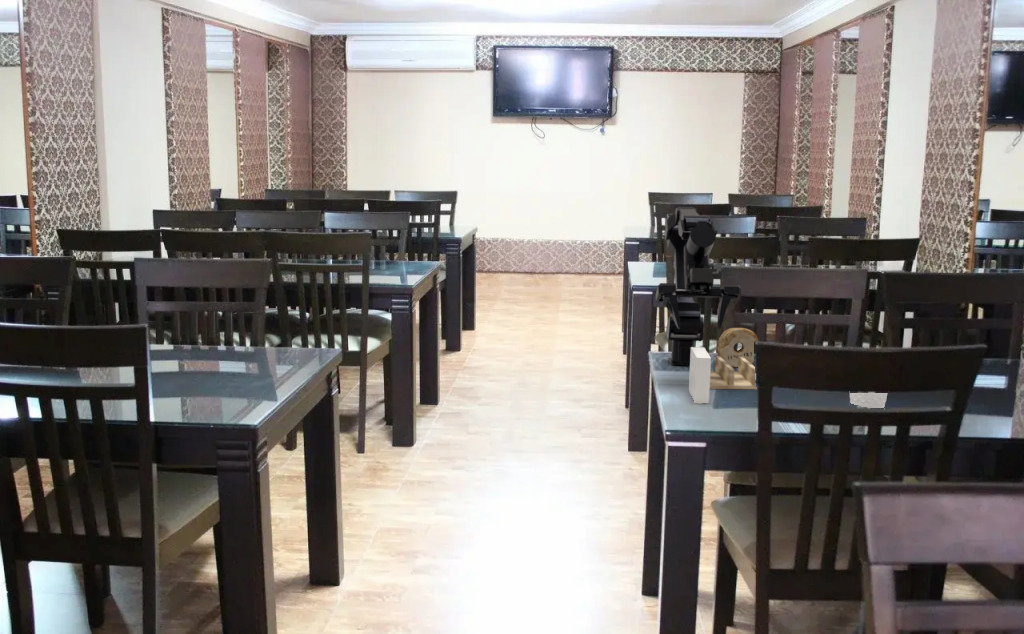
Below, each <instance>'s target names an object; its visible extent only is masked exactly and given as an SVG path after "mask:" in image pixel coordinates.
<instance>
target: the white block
mask: <svg viewBox="0 0 1024 634" xmlns="http://www.w3.org/2000/svg"><path fill="white" fill-rule="evenodd" d="M711 367H712V357H711V356H710V354H709V353H708V351H707V350H706V347H696V346H695V347H691V353H690V365H689V375H688V376H689V379H688V392H689V395H690V396H692V397H691V398H693V399H692V401H693V400H694V401H693V403H694V404H702V403H709V402H710V390H711V389H710V371H712V369H711ZM709 404H710V403H709Z"/></svg>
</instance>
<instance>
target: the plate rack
mask: <svg viewBox="0 0 1024 634" xmlns="http://www.w3.org/2000/svg"><path fill="white" fill-rule="evenodd" d="M710 390H758V389H757V387H756V383H755V365H753V363H752V364H751V363H750V362H749V361H747V360H746V359H745V358H744V357H739V358H738V368H737V371H735V368H734V367H731V366H730V365H729V364H728V363H727V362H726V361H725V360H723V359H722V358H721V357H720V356H718V355H717V356H715V368H714V371H713V370H711V371H710Z"/></svg>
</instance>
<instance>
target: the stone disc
mask: <svg viewBox="0 0 1024 634" xmlns="http://www.w3.org/2000/svg"><path fill="white" fill-rule="evenodd" d="M755 341H758V342H759V339H758V336H757V334H756V333H755V332H754V331H752V330H751V329H749V328H745V327H731V328H727V329H726V330H724V331H723V332H722V333H721V335H720V337H719V338H718V341H717V346H716V354H717V356H720V357H721V358H722V359H723V360H725V361H726V362H727V363H728V364H729V365H730V366H731V367H732V368H737V367H738V358H739V357H744V358H745V359H746V360H747V361H749V362H750V363H751V364H752V365H753V363H754V362H755V360H754V342H755ZM738 343H740V345H741V348H740V349H738V350H737V349H735V345H736V344H738Z"/></svg>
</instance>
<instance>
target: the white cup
mask: <svg viewBox="0 0 1024 634" xmlns="http://www.w3.org/2000/svg"><path fill="white" fill-rule="evenodd" d="M887 396H888V393H850V392H849V404H850V403H851V404H854V405H859V406H861V407H870V408H884V407H885V408H886V406H885V405H886V402H887ZM885 408H884V409H885Z"/></svg>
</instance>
